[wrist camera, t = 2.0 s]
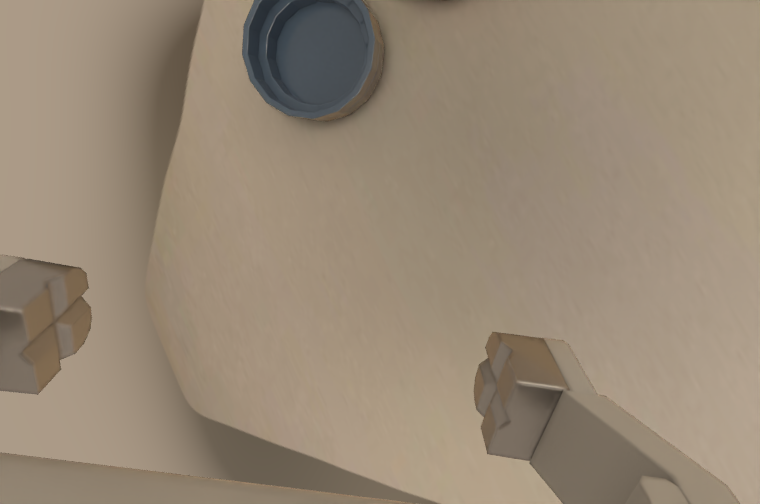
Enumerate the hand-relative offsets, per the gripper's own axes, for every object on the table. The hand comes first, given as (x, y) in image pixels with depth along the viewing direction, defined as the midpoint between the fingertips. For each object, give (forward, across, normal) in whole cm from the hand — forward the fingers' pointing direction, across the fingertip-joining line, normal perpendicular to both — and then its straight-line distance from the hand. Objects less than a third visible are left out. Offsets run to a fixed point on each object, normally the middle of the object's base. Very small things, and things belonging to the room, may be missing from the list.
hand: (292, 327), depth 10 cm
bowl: (+37, +4, -2) cm, 38 cm away
